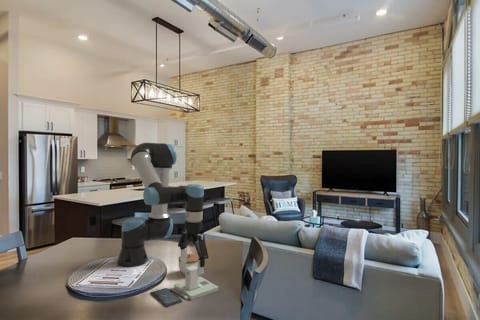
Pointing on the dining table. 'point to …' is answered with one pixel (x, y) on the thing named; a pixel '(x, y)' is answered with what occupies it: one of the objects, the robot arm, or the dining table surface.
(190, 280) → the block
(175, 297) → the phone
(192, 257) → the lidded jar
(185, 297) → the grey pen
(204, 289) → the outlet plate
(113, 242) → the dining table surface
